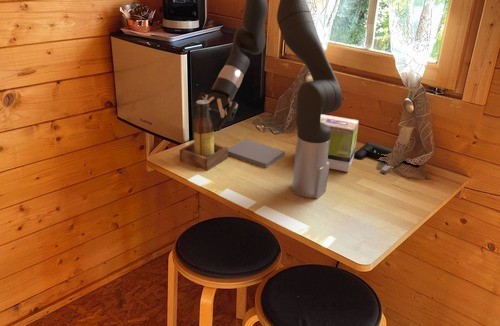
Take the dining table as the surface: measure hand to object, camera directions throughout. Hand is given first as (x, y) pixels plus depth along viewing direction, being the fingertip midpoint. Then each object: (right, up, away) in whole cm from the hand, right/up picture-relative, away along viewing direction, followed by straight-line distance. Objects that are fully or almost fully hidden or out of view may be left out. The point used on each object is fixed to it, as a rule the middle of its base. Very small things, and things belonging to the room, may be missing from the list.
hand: (205, 126), depth 153 cm
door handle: (+59, -12, +10) cm, 61 cm away
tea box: (+40, -11, +8) cm, 42 cm away
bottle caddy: (-1, -10, +5) cm, 11 cm away
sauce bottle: (-1, -11, +5) cm, 12 cm away
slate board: (+16, -9, +10) cm, 20 cm away
